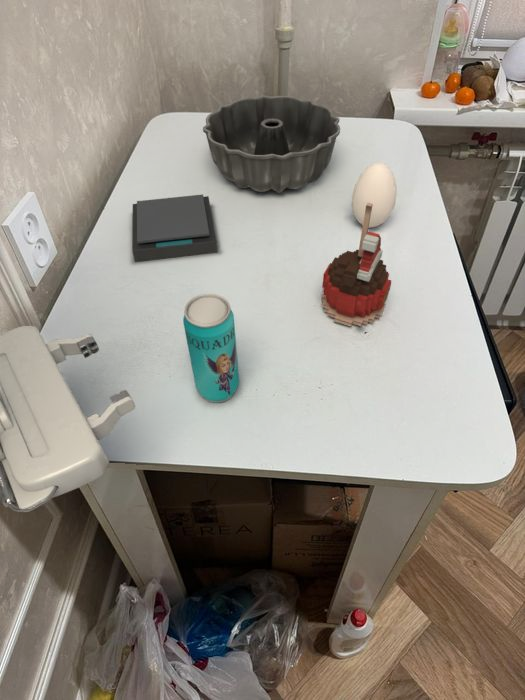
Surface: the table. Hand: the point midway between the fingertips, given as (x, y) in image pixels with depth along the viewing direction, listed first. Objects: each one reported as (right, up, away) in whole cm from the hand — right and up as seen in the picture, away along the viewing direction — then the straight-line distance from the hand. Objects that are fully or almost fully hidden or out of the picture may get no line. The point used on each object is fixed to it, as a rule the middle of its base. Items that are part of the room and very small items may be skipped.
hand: (112, 368), depth 53 cm
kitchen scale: (0, +23, +37) cm, 44 cm away
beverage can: (+10, -3, +14) cm, 18 cm away
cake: (+30, +9, +24) cm, 39 cm away
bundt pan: (+18, +39, +51) cm, 67 cm away
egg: (+35, +25, +38) cm, 57 cm away
